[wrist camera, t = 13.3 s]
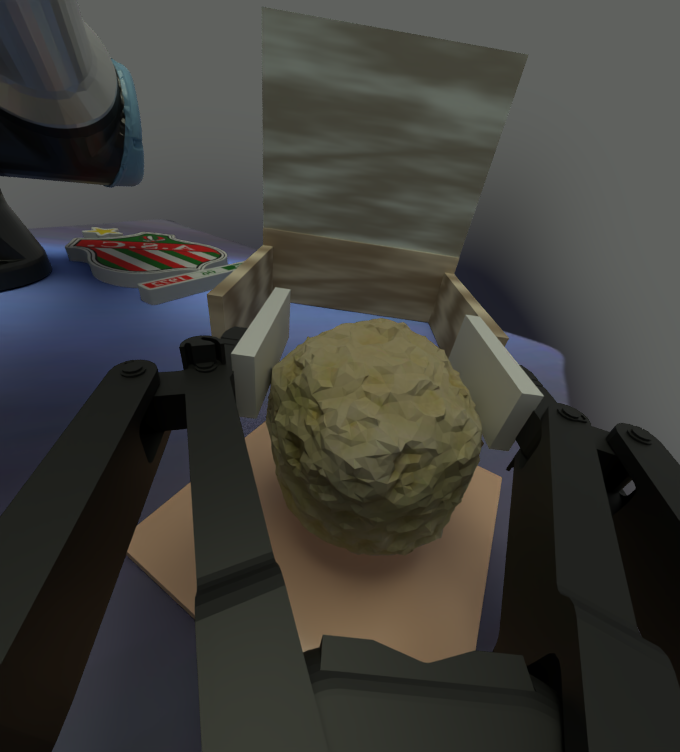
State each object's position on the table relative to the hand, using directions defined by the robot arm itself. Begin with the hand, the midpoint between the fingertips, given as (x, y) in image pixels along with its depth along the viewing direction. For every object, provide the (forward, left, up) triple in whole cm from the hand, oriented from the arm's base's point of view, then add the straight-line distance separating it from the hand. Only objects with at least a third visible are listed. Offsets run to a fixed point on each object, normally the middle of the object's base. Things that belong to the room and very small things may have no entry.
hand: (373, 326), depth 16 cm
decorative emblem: (-46, -11, -11) cm, 48 cm away
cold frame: (-14, +8, -10) cm, 19 cm away
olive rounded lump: (+4, -2, -6) cm, 8 cm away
